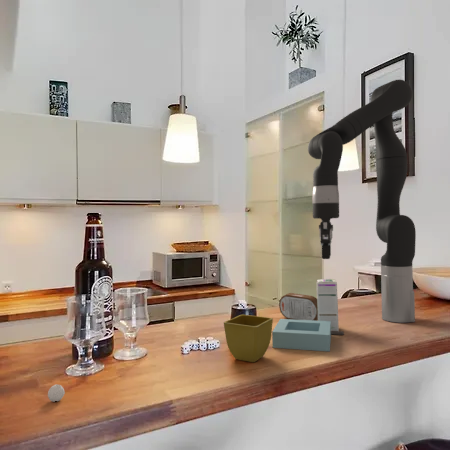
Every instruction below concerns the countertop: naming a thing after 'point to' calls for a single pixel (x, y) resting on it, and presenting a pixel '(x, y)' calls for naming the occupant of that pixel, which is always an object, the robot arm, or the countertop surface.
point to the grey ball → (56, 393)
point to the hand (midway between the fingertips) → (326, 257)
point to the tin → (299, 307)
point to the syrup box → (328, 302)
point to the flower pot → (248, 336)
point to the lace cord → (337, 332)
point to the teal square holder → (302, 335)
